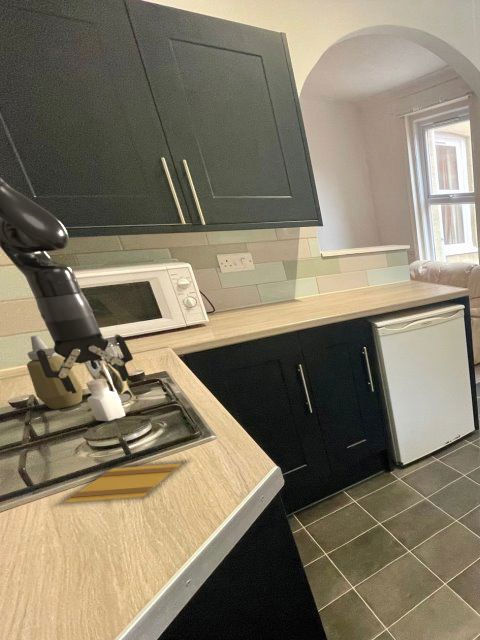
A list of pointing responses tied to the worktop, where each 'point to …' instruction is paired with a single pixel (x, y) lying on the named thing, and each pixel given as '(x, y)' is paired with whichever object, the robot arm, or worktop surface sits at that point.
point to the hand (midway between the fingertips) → (100, 386)
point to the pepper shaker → (104, 401)
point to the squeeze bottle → (51, 380)
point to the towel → (124, 483)
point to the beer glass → (111, 375)
